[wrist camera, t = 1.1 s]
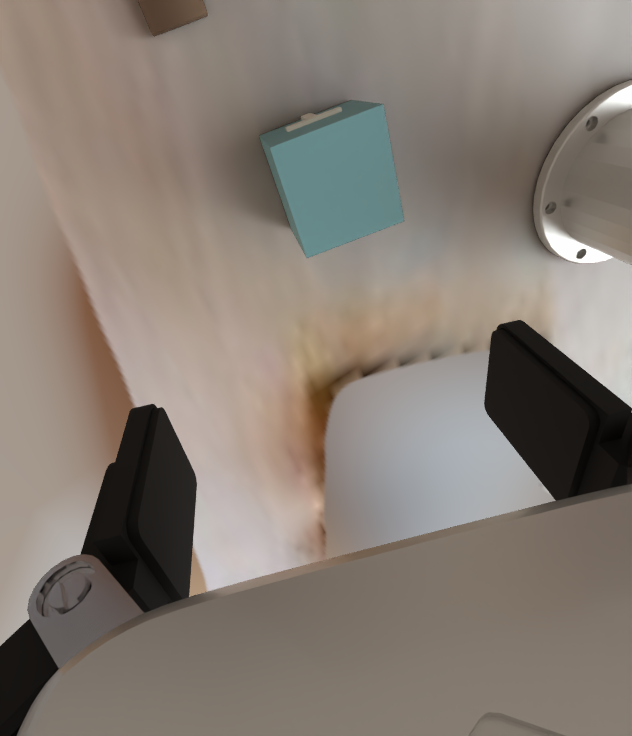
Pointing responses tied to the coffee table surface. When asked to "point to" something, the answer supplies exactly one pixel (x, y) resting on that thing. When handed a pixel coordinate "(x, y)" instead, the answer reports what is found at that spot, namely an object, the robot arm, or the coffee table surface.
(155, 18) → the screen
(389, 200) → the letter cube
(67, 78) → the coffee table surface
